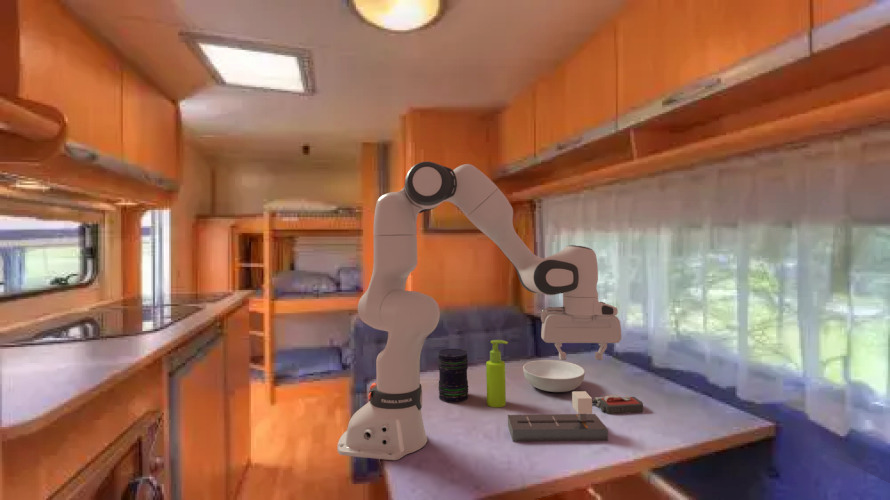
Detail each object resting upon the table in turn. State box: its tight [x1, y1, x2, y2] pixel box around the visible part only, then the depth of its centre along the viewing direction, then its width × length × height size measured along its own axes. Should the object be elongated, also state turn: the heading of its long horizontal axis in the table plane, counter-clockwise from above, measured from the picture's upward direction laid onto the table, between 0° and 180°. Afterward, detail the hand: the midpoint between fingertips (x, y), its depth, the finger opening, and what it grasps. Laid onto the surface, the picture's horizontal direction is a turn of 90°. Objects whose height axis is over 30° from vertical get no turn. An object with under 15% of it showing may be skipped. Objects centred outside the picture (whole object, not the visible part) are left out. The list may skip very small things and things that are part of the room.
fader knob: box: [571, 390, 593, 421], centre depth 106 cm, size 4×5×7 cm
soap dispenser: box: [485, 339, 509, 408], centre depth 126 cm, size 6×7×20 cm
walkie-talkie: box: [592, 394, 644, 415], centre depth 122 cm, size 9×4×20 cm
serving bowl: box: [522, 359, 586, 393], centre depth 140 cm, size 21×21×7 cm
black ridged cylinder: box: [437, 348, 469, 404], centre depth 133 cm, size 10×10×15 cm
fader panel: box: [507, 413, 609, 442], centre depth 106 cm, size 24×9×3 cm, turn 89°
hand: (580, 359), depth 106 cm, fingers open, 8 cm apart
